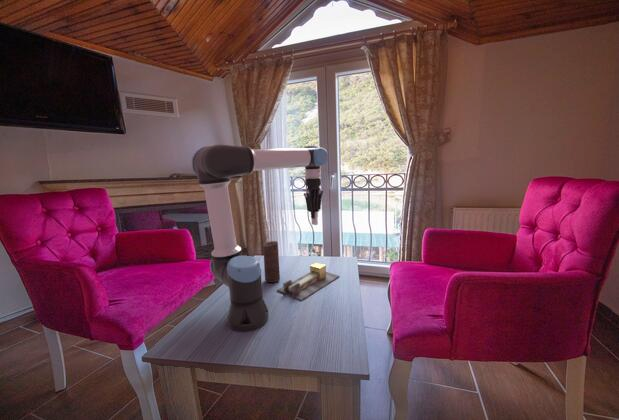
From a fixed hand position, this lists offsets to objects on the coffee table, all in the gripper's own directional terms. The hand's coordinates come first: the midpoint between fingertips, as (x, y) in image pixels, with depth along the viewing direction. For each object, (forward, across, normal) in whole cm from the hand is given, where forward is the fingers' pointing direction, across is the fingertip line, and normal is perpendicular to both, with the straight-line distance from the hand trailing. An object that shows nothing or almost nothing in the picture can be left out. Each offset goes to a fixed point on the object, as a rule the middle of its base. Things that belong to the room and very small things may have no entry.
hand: (314, 224), depth 134 cm
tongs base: (+26, -12, -5) cm, 29 cm away
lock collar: (+26, -5, -5) cm, 27 cm away
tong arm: (+25, -14, -5) cm, 29 cm away
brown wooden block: (+27, -20, +12) cm, 35 cm away
